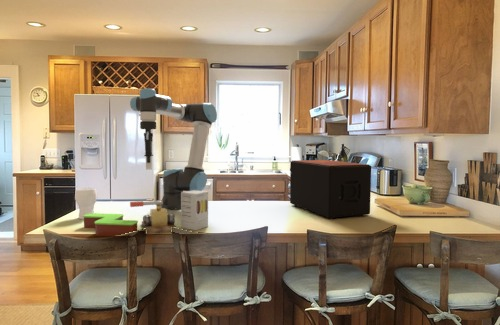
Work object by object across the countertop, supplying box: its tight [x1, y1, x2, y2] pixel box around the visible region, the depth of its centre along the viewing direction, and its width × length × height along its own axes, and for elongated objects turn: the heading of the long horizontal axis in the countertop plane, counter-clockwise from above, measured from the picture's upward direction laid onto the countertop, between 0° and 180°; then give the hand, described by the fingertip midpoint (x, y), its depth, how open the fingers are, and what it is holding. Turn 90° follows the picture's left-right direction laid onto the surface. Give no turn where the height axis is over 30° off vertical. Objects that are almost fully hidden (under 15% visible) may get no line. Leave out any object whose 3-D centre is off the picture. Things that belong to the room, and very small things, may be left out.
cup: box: [74, 187, 98, 220], centre depth 190 cm, size 11×11×15 cm
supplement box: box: [180, 190, 209, 231], centre depth 171 cm, size 10×9×17 cm
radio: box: [289, 159, 372, 220], centre depth 211 cm, size 45×27×28 cm, turn 21°
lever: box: [129, 199, 163, 208], centre depth 167 cm, size 14×4×2 cm, turn 113°
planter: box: [83, 212, 139, 237], centre depth 165 cm, size 30×18×6 cm, turn 83°
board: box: [141, 220, 177, 235], centre depth 170 cm, size 14×20×2 cm
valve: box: [142, 205, 176, 227], centre depth 169 cm, size 14×6×10 cm, turn 110°
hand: (148, 169), depth 179 cm, fingers closed
